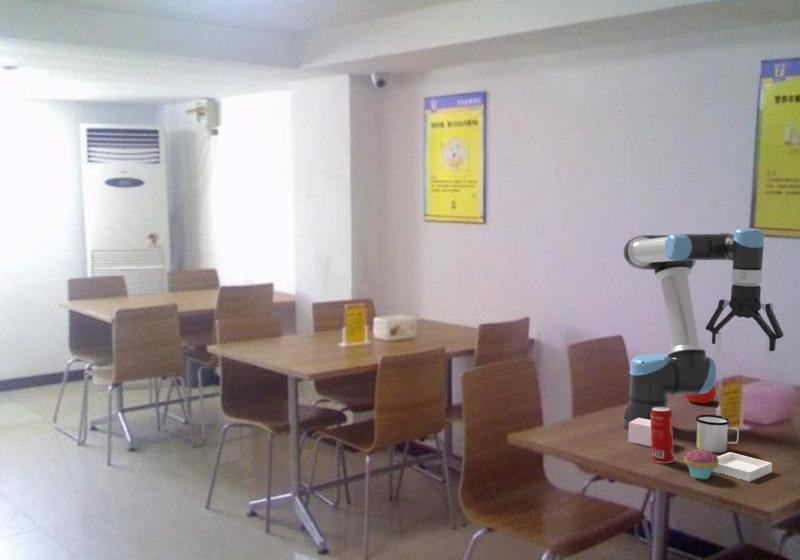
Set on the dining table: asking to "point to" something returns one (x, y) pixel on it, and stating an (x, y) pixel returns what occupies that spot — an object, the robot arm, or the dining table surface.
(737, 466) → the tray
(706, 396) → the tomato
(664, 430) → the beverage can
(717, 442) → the mug
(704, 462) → the cupcake
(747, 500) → the dining table surface
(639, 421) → the tissue box
